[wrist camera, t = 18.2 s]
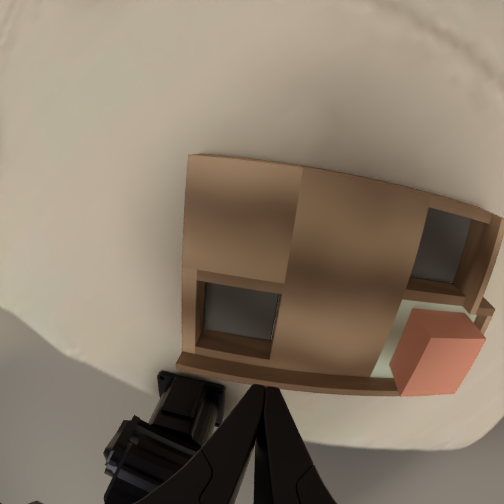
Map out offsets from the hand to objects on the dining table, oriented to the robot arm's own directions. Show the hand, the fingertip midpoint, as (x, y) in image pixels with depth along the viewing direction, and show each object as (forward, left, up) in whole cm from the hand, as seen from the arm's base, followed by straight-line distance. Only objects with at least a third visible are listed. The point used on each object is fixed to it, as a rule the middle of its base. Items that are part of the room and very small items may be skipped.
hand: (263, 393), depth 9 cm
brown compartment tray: (-1, -5, -12) cm, 13 cm away
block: (-4, -12, -10) cm, 16 cm away
